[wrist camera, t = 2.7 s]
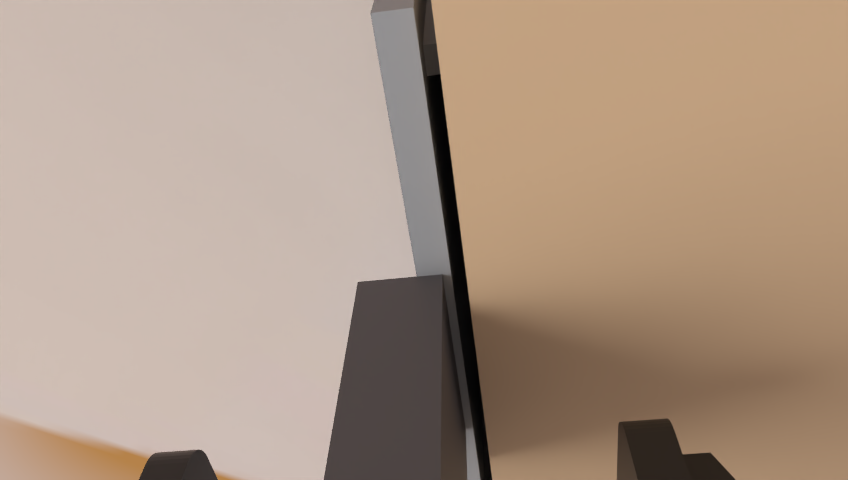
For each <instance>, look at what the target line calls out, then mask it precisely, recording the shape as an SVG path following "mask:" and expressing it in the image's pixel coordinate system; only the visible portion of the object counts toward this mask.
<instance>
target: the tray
mask: <svg viewBox="0 0 848 480" xmlns="http://www.w3.org/2000/svg"><path fill="white" fill-rule="evenodd" d="M371 19H372V25H373V30H374V36H375V42H376V47H377V53H378V59H379V64H380V70H381V76H382V81H383V87H384V93H385V98H386V104H387V110H388V115H389V121H390V127H391V132H392V138H393V144H394V149H395V155H396V161H397V166H398V172H399V178H400V183H401V189H402V195H403V200H404V206H405V212H406V218H407V223H408V229H409V235H410V240H411V246H412V252H413V257H414V263H415V269H416V274H417V277H408V278H397V279H386V280H375V281H364V282H358V285H357V290H356V296H355V302H354V308H353V314H352V319H351V325H350V331H349V337H348V342H347V348H346V354H345V360H344V366H343V371H342V377H341V383H340V389H339V395H338V400H337V406H336V412H335V418H334V424H333V429H332V435H331V441H330V447H329V453H328V458H327V464H326V470H325V476H324V480H492V473H491V466H490V458H489V450H488V442H487V434H486V426H485V419H484V411H483V403H482V395H481V387H480V380H479V372H478V364H477V356H476V348H475V340H474V333H473V325H472V317H471V309H470V301H469V293H468V286H467V278H466V270H465V262H464V254H463V246H462V239H461V231H460V223H459V215H458V207H457V199H456V192H455V184H454V176H453V168H452V160H451V152H450V145H449V137H448V129H447V121H446V113H445V105H444V98H443V90H442V82H441V74H440V66H439V58H438V51H437V43H436V35H435V27H434V19H433V11H432V4H431V0H374V3H373V6H372V10H371Z"/></svg>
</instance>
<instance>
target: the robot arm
mask: <svg viewBox="0 0 848 480" xmlns="http://www.w3.org/2000/svg"><path fill="white" fill-rule="evenodd" d="M139 480H218V479H217V477H216V475H215V473H214V471H213V468H212V466H211V464H210V462H209V460H208V458H207V456H206V454H205V453H204V452H203V451H202V450H188V451H174V452H160V453H155V454H153V455H152V456H151V457H150V458H149V459H148V461H147V463H146V465H145V467H144V469H143V472H142V474H141V476H140V479H139ZM617 480H735V478H734V477H733V476H732V475H731V474H730V473H729V472H728V471H727V470H726V469H725V468H724V467H723V465H722V464H721V463H720V462H719V461H718V460H717V459H716V458H715V457H714V456H713V455H712V454H711V453H696V454H682V451H681V448H680V445H679V442H678V439H677V436H676V433H675V431H674V428H673V425H672V423H671V422H670V420H669V419H667V418H666V419H652V420H637V421H623V422H619V424H618V449H617Z"/></svg>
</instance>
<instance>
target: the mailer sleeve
mask: <svg viewBox="0 0 848 480" xmlns="http://www.w3.org/2000/svg"><path fill="white" fill-rule="evenodd" d="M431 4H432V11H433V19H434V27H435V35H436V43H437V51H438V58H439V66H440V74H441V82H442V90H443V98H444V105H445V113H446V121H447V129H448V137H449V145H450V152H451V160H452V168H453V176H454V184H455V192H456V199H457V207H458V215H459V223H460V231H461V239H462V246H463V254H464V262H465V270H466V278H467V286H468V293H469V301H470V309H471V317H472V325H473V333H474V340H475V348H476V356H477V364H478V372H479V380H480V387H481V395H482V403H483V411H484V419H485V426H486V434H487V442H488V450H489V458H490V466H491V473H492V480H617V449H618V424H619V422H623V421H637V420H652V419H666V418H667V419H669V420H670V422H671V423H672V425H673V428H674V431H675V433H676V436H677V439H678V442H679V445H680V448H681V451H682V454H696V453H711V454H712V455H713V456H714V457H715V458H716V459H717V460H718V461H719V462H720V463H721V464H722V465H723V467H724V468H725V469H726V470H727V471H728V472H729V473H730V474H731V475H732V476H733V477H734V478H735V480H848V0H431Z"/></svg>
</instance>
